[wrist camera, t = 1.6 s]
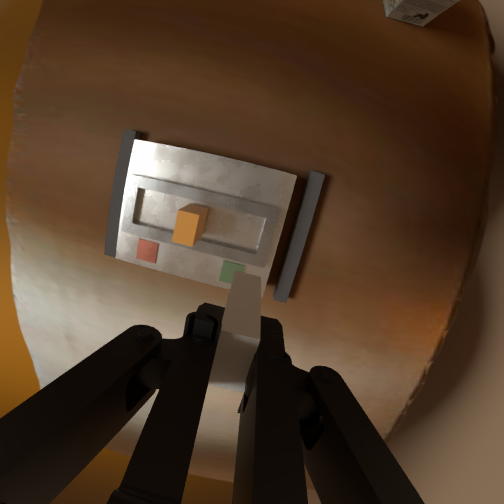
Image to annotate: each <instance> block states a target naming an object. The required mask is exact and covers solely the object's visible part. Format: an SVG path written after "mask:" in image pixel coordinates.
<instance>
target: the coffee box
mask: <svg viewBox="0 0 504 504" xmlns="http://www.w3.org/2000/svg"><path fill="white" fill-rule="evenodd" d="M458 1H460V0H383V3H384V8H385V13H386V17H388V18H392V19H396V20H400V21H404V22H408V23H411V24H415V25H418V26H422V27H423V26H424V25H426V24H427V23H428V22H430V21H431V20H433V19H434V18H435V17H437V16H438V15H440V14H441V13H442V12H444V11H445V10H447V9H448V8H450V7H451V6H453V5H454V4H455V3H457V2H458Z"/></svg>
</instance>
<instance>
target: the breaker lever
mask: <svg viewBox="0 0 504 504" xmlns="http://www.w3.org/2000/svg"><path fill="white" fill-rule="evenodd" d="M208 209H209V207H205V206H201V205H196V204H192V203H190V204H188V205H186V206H184V207H183V208H181V209H179V210H178V212H177V217H176V222H175V228H174V233H173V238H172V242H175V243H179V244H183V245H187V246H191V247H193V246H194V245H195V243H196V242H197V241H198V240H199V239H200V237H201V236H202V235H203V232H204V227H205V222H206V218H207V214H208Z"/></svg>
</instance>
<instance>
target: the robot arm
mask: <svg viewBox="0 0 504 504" xmlns="http://www.w3.org/2000/svg"><path fill="white" fill-rule="evenodd" d="M208 384H209V385H213V386H217V387H221V388H225V389H230V390H234V391H239V392H243V390H244V387H245V392H244V395H243V398H242V401H241V404H240V406H239V409H238V412H237V413H240V423H239V433H238V444H237V454H236V464H235V475H234V485H233V496H232V504H308V499H307V488H306V478H305V469H304V463H305V466H306V468H307V470H308V473H309V475H310V478H311V480H312V483H313V485H314V487H315V490H316V492H317V494H318V497H319V499H320V501H321V504H424V502H423V500H422V499H421V497H420V496H419V494H418V492H417V491H416V489H415V488H414V486H413V485H412V483H411V482H410V480H409V479H408V477H407V476H406V474H405V473H404V471H403V470H402V468H401V467H400V465H399V464H398V462H397V460H396V459H395V458H394V456H393V454H392V453H391V451H390V450H389V448H388V447H387V445H386V444H385V442H384V441H383V439H382V438H381V436H380V435H379V433H378V432H377V430H376V428H375V427H374V425H373V424H372V422H371V421H370V419H369V418H368V416H367V415H366V413H365V412H364V410H363V409H362V407H361V406H360V404H359V403H358V401H357V400H356V398H355V397H354V395H353V394H352V392H351V391H350V389H349V388H348V386H347V385H346V383H345V382H344V380H343V379H342V377H341V376H340V375H339V374H338V373H337V372H336V371H335V370H333V369H332V368H329V367H326V366H314V367H313V368H311V370H310V372H307V371H304V370H302V369H299V368H297V367H295V366H294V365H292V361H291V358H290V356H289V355H288V354H287V353H286V352H285V347H284V338H283V329H282V325H281V324H280V322H279V321H278V320H277V319H273V318H269V317H265V316H261V277H259V276H255V275H251V274H247V273H243V272H239V271H235V272H234V276H233V280H232V284H231V288H230V292H229V296H228V300H227V303H226V307H225V308H224V307H220V306H216V305H213V304H209V303H204V304H202V305H200V306H199V307H198V309H197V312H192V313H189V314H188V315H187V317H186V322H185V328H184V334H183V337H181V338H178V339H163V338H162V335H161V333H160V332H159V331H158V330H157V329H155V328H154V327H151V326H148V325H134V326H132V327H130V328H128V329H127V330H125V331H124V332H123V333H121V334H120V335H118V336H117V337H115V338H114V339H113V340H111V341H110V342H108V343H107V344H105V345H104V346H102V347H101V348H100V349H98V350H97V351H95V352H94V353H92V354H91V355H90V356H88V357H87V358H85V359H84V360H82V361H81V362H80V363H78V364H77V365H75V366H74V367H72V368H71V369H70V370H68V371H67V372H65V373H64V374H62V375H61V376H60V377H58V378H57V379H55V380H54V381H53V382H51V383H50V384H48V385H47V386H45V387H44V388H43V389H41V390H40V391H38V392H37V393H36V394H34V395H33V396H31V397H30V398H29V399H27V400H26V401H24V402H23V403H22V404H20V405H19V406H17V407H16V408H14V409H13V410H12V411H10V412H9V413H8V414H6V415H5V416H3V417H2V418H1V419H0V504H50V503H51V501H52V500H54V499H55V498H56V496H58V495H59V493H60V492H61V491H63V489H64V488H65V487H66V486H67V485H68V484H69V483H70V482H71V481H72V480H73V479H74V478H75V477H76V476H77V475H78V474H79V473H80V472H81V471H82V470H83V469H84V468H85V467H86V466H87V465H88V464H89V463H90V461H92V459H93V458H94V457H95V456H96V455H97V454H98V453H99V452H100V451H101V450H102V449H103V448H104V447H105V446H106V445H107V444H108V443H109V442H110V440H111V439H112V438H113V437H114V436H115V435H116V434H117V433H118V432H119V431H120V430H121V429H122V428H123V427H124V426H125V424H126V423H127V422H128V421H129V420H130V419H131V418H132V417H133V416H134V415H135V414H136V413H137V412H138V410H139V409H140V408H141V407H142V406H143V405H144V404H145V403H146V402H147V401H148V400H149V398H150V397H151V396H152V395H153V394H154V393H155V391H156V389H159V392H158V394H157V396H156V399H155V401H154V404H153V406H152V408H151V411H150V413H149V415H148V418H147V420H146V423H145V425H144V428H143V430H142V432H141V435H140V437H139V440H138V442H137V445H136V447H135V450H134V452H133V455H132V457H131V460H130V462H129V465H128V467H127V470H126V472H125V475H124V477H123V480H122V482H121V485H120V487H119V488H118V489H116V490H114V491H113V492H112V494H111V496H110V498H109V500H108V502H107V504H181V501H182V496H183V492H184V487H185V482H186V477H187V474H188V469H189V465H190V460H191V456H192V451H193V447H194V443H195V438H196V434H197V429H198V425H199V421H200V416H201V412H202V408H203V403H204V399H205V395H206V391H207V386H208Z"/></svg>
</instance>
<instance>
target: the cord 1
mask: <svg viewBox="0 0 504 504" xmlns="http://www.w3.org/2000/svg"><path fill="white" fill-rule="evenodd" d="M140 135H141V132H137V131H130V130H124V134H123V138H122V143H121V147H120V152H119V157H118V162H117V167H116V172H115V178H114V184H113V190H112V196H111V203H110V210H109V217H108V225H107V234H106V243H105V255H108V256H112V257H116V247H117V239H118V231H119V223H120V216H121V209H122V203H123V196H124V191H125V185H126V179H127V174H128V169H129V164H130V159H131V154H132V150H133V145H134V141H135V140H139V139H140Z"/></svg>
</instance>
